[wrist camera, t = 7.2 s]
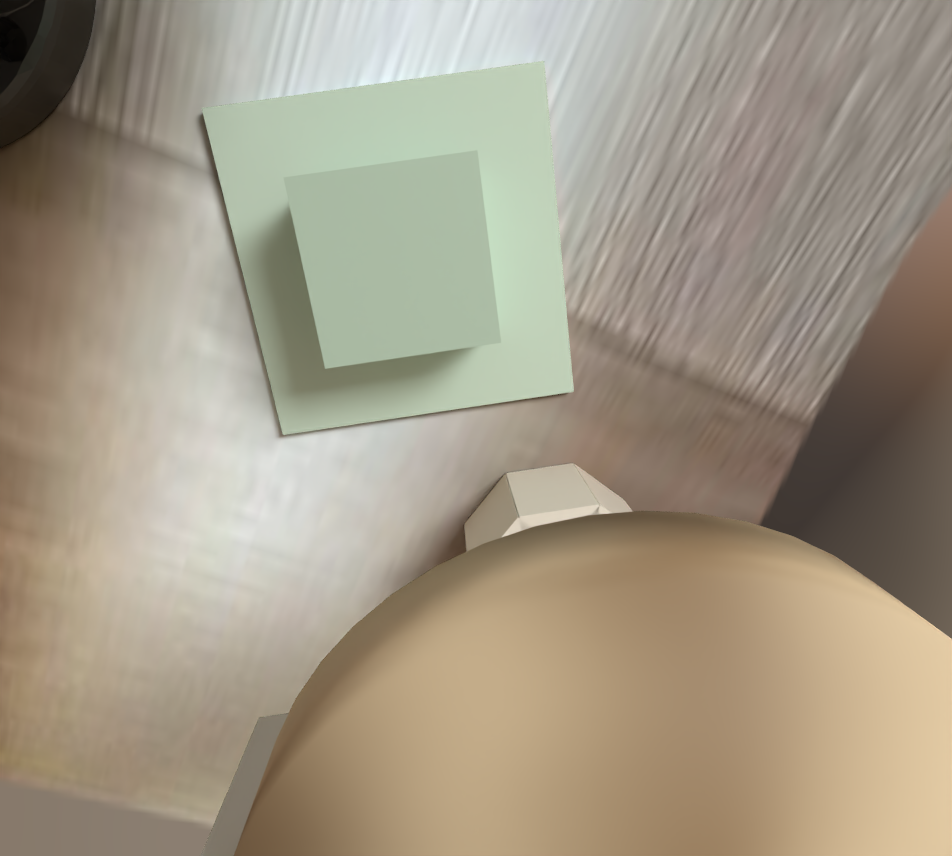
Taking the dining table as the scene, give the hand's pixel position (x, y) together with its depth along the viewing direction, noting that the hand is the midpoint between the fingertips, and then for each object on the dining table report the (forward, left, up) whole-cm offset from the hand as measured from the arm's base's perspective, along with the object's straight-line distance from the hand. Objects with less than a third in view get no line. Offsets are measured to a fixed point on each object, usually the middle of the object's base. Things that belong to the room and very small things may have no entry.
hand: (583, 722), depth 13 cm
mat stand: (-3, +10, -17) cm, 20 cm away
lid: (0, 0, +3) cm, 3 cm away
